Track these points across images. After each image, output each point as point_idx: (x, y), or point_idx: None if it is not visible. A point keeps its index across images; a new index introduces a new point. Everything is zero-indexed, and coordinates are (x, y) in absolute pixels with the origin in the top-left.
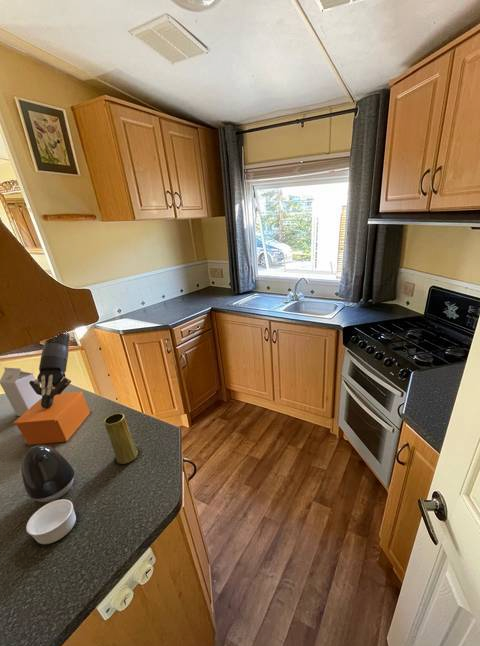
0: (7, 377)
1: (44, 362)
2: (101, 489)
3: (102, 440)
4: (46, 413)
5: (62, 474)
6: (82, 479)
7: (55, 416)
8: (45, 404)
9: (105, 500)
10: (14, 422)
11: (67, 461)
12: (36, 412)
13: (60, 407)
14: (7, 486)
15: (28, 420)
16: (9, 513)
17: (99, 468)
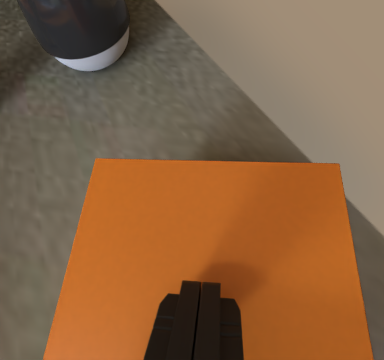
0: None
1: None
2: (12, 53)
3: (19, 205)
4: (172, 231)
5: None
6: (53, 76)
7: (100, 187)
8: (188, 290)
9: (4, 35)
10: (332, 167)
11: (25, 16)
12: (257, 260)
13: (103, 296)
14: (223, 73)
15: (251, 174)
16: (170, 22)
17: (19, 100)
